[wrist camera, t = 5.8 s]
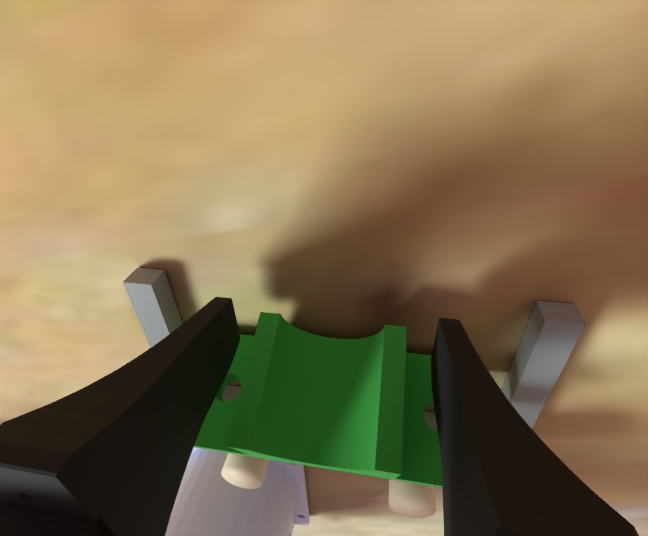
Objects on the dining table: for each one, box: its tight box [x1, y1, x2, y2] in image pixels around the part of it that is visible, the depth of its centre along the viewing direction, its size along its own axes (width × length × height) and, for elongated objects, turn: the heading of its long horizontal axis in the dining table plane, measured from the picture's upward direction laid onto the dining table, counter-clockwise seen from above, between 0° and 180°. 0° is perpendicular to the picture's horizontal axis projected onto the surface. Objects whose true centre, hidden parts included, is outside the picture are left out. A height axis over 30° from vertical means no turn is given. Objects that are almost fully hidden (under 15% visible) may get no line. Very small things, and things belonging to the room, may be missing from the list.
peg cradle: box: [123, 268, 586, 518], centre depth 15 cm, size 8×17×4 cm, turn 92°
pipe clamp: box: [194, 312, 443, 488], centre depth 14 cm, size 11×4×5 cm, turn 92°
